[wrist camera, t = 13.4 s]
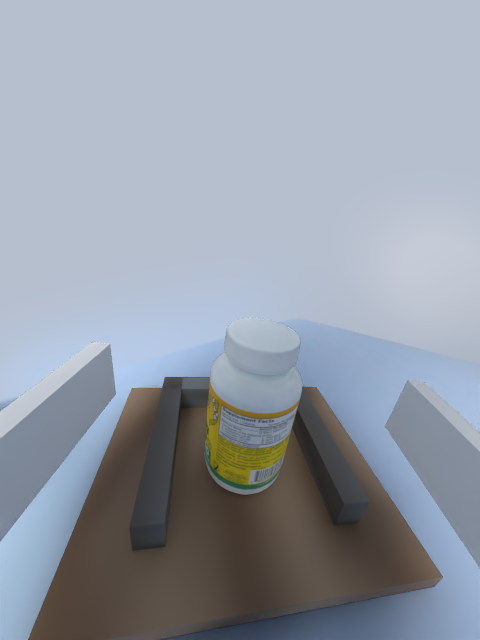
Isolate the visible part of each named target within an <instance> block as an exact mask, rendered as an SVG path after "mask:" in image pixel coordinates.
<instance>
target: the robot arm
mask: <svg viewBox="0 0 480 640" xmlns="http://www.w3.org/2000/svg"><path fill="white" fill-rule="evenodd" d="M115 395H116V391H115V382H114V373H113V365H112V356H111V348H110V344H106V343H99V342H91V343H90V344H89V345H88V346H86V347H85V348H83V349H82V350H81V351H80V352H78V353H77V354H76V355H74V356H73V357H72V358H70V359H69V360H68V361H66V362H65V363H64V364H62V365H61V366H60V367H58V368H57V369H56V370H54V371H53V372H52V373H50V374H49V375H48V376H46V377H45V378H44V379H42V380H41V381H40V382H39V383H37V384H36V385H34V386H33V387H32V388H30V389H29V390H28V391H26V392H25V393H24V394H22V395H21V396H20V397H18V398H17V399H16V400H14V401H13V402H12V403H10V404H9V405H8V406H7V407H5V408H4V409H3V410H1V411H0V541H1V540H2V539H3V538H4V536H5V535H6V534H7V532H8V531H9V530H10V529H11V527H12V526H13V525H14V523H15V522H16V521H17V520H18V518H19V517H20V516H21V515H22V513H23V512H24V511H25V509H26V508H27V507H28V506H29V504H30V503H31V502H32V500H33V499H34V498H35V497H36V495H37V494H38V493H39V492H40V490H41V489H42V488H43V486H44V485H45V484H46V483H47V481H48V480H49V479H50V478H51V476H52V475H53V474H54V472H55V471H56V470H57V469H58V467H59V466H60V465H61V463H62V462H63V461H64V460H65V458H66V457H67V456H68V455H69V453H70V452H71V451H72V449H73V448H74V447H75V446H76V444H77V443H78V442H79V440H80V439H81V438H82V437H83V435H84V434H85V433H86V432H87V430H88V429H89V428H90V426H91V425H92V424H93V423H94V421H95V420H96V419H97V418H98V416H99V415H100V414H101V412H102V411H103V410H104V409H105V407H106V406H107V405H108V403H109V402H110V401H111V400H112V398H113V397H114V396H115ZM385 427H386V428H387V430H388V431H389V433H390V434H391V436H392V437H393V439H394V440H395V442H396V443H397V445H398V446H399V448H400V449H401V451H402V452H403V454H404V455H405V457H406V458H407V460H408V461H409V463H410V464H411V466H412V467H413V469H414V470H415V472H416V473H417V475H418V476H419V478H420V479H421V481H422V482H423V484H424V485H425V487H426V488H427V490H428V491H429V493H430V494H431V496H432V497H433V499H434V500H435V502H436V503H437V505H438V506H439V508H440V509H441V511H442V512H443V514H444V515H445V517H446V518H447V520H448V521H449V523H450V524H451V526H452V527H453V529H454V530H455V532H456V533H457V535H458V536H459V538H460V539H461V541H462V542H463V544H464V545H465V547H466V548H467V550H468V551H469V553H470V554H471V556H472V557H473V559H474V560H475V562H476V563H477V565H478V566H479V568H480V432H479V431H478V430H477V429H476V428H475V427H474V426H472V425H471V424H470V423H469V422H468V421H467V420H466V419H465V418H464V417H463V416H461V415H460V414H459V413H458V412H457V411H456V410H455V409H454V408H453V407H452V406H450V405H449V404H448V403H447V402H446V401H445V400H444V399H443V398H442V397H440V396H439V395H438V394H437V393H436V392H435V391H434V390H433V389H432V388H431V387H429V386H428V385H427V384H426V383H425V382H418V381H410V380H408V381H407V383H406V385H405V387H404V389H403V391H402V393H401V395H400V397H399V399H398V401H397V403H396V405H395V407H394V409H393V411H392V413H391V415H390V417H389V419H388V421H387V423H386V425H385Z"/></svg>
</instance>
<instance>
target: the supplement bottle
mask: <svg viewBox="0 0 480 640" xmlns="http://www.w3.org/2000/svg"><path fill="white" fill-rule="evenodd" d="M300 344H301V340H300V337H299V335H298V334H297V333H296V332H295V331H294V330H293V329H291V328H290V327H288V326H286V325H284V324H281V323H278V322H276V321H272V320H267V319H261V318H242V319H238V320H235V321H233V322H231V323H230V324H229V325H228V327H227V330H226V337H225V343H224V349H225V352H224V353H222V354H221V355H220V356H219V357H218V358H217V359H216V360H215V362H214V364H213V366H212V368H211V372H210V381H209V394H208V406H207V418H206V432H205V443H204V456H205V461H206V465H207V468H208V471H209V473H210V475H211V476H212V478H213V479H214V480H215V481H216V482H217V484H218V485H220V486H221V487H223V488H225V489H226V490H229V491H231V492H234V493H237V494H242V495H248V494H254V493H258V492H261V491H263V490H265V489H266V488H268V487H269V486H270V485H271V484H273V482H274V481H275V480H276V478H277V476H278V475H279V472H280V470H281V466H282V464H283V459H284V455H285V452H286V448H287V444H288V441H289V437H290V433H291V429H292V426H293V422H294V418H295V415H296V411H297V408H298V404H299V401H300V397H301V392H302V380H301V376H300V374H299V372H298V370H297V368H296V367H295V366H294V365H295V364H296V362H297V359H298V353H299V348H300Z"/></svg>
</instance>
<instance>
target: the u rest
mask: <svg viewBox="0 0 480 640" xmlns="http://www.w3.org/2000/svg"><path fill="white" fill-rule="evenodd" d="M209 381H210V377H165V379H164V383H163V387H162V388H132V390H131V392H130V394H129V397H128V399H127V402H126V404H125V407H124V409H123V411H122V414H121V416H120V419H119V421H118V423H117V426H116V428H115V431H114V433H113V436H112V438H111V440H110V443H109V445H108V448H107V450H106V452H105V455H104V457H103V460H102V462H101V465H100V467H99V469H98V472H97V474H96V477H95V479H94V482H93V484H92V486H91V489H90V491H89V494H88V496H87V498H86V501H85V503H84V506H83V508H82V511H81V513H80V515H79V518H78V520H77V523H76V525H75V527H74V530H73V532H72V535H71V537H70V540H69V542H68V544H67V547H66V549H65V552H64V554H63V556H62V559H61V561H60V564H59V566H58V569H57V571H56V573H55V576H54V578H53V581H52V583H51V585H50V588H49V590H48V593H47V595H46V598H45V600H44V602H43V605H42V607H41V610H40V612H39V614H38V617H37V619H36V622H35V624H34V627H33V629H32V631H31V634H30V636H29V639H28V640H159V639H164V638H169V637H174V636H179V635H185V634H190V633H195V632H200V631H205V630H211V629H216V628H221V627H226V626H231V625H237V624H242V623H247V622H252V621H257V620H263V619H268V618H273V617H278V616H284V615H289V614H294V613H299V612H304V611H310V610H315V609H320V608H325V607H330V606H336V605H341V604H346V603H351V602H356V601H362V600H367V599H372V598H377V597H382V596H388V595H393V594H398V593H403V592H409V591H414V590H419V589H424V588H429V587H434V586H435V585H436V584H437V583H438V582H439V581H440V580H441V579H442V578H443V576H442V575H441V573H440V572H439V570H438V569H437V567H436V566H435V564H434V563H433V561H432V560H431V558H430V557H429V555H428V554H427V552H426V551H425V549H424V548H423V546H422V545H421V543H420V542H419V540H418V539H417V537H416V536H415V534H414V533H413V531H412V530H411V528H410V527H409V525H408V524H407V522H406V521H405V519H404V518H403V516H402V515H401V513H400V512H399V510H398V509H397V507H396V506H395V504H394V503H393V501H392V500H391V498H390V497H389V495H388V494H387V492H386V491H385V489H384V488H383V486H382V485H381V483H380V482H379V480H378V479H377V477H376V476H375V474H374V473H373V471H372V470H371V468H370V467H369V465H368V464H367V462H366V461H365V459H364V458H363V456H362V455H361V453H360V452H359V450H358V449H357V447H356V446H355V444H354V443H353V441H352V440H351V438H350V437H349V435H348V434H347V432H346V431H345V429H344V428H343V426H342V425H341V423H340V422H339V420H338V419H337V417H336V416H335V414H334V413H333V411H332V410H331V408H330V407H329V405H328V404H327V402H326V401H325V399H324V398H323V396H322V395H321V393H320V392H319V390H318V389H317V387H302V392H301V397H300V401H299V404H298V408H297V411H296V415H295V418H294V422H293V426H292V429H291V433H290V437H289V441H288V444H287V448H286V452H285V455H284V459H283V464H282V466H281V470H280V472H279V475H278V476H277V478H276V480H275V481H274V482H273V484H271V485H270V486H269V487H268V488H266V489H265V490H263V491H261V492H258V493H254V494H248V495H242V494H237V493H234V492H231V491H229V490H226V489H225V488H223V487H221V486H220V485H218V484H217V482H216V481H215V480H214V479H213V478H212V476H211V475H210V473H209V471H208V468H207V465H206V461H205V456H204V443H205V432H206V418H207V406H208V394H209Z"/></svg>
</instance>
